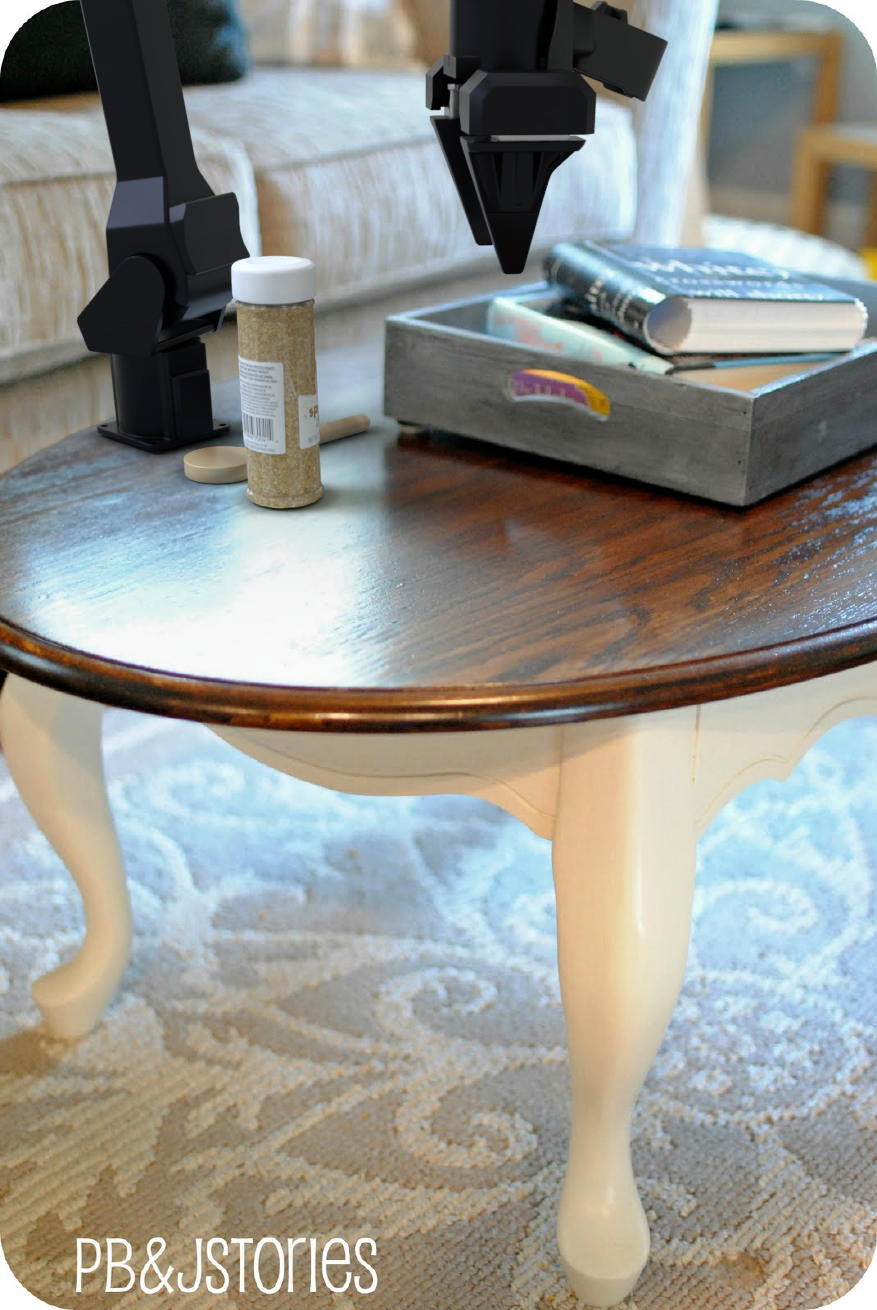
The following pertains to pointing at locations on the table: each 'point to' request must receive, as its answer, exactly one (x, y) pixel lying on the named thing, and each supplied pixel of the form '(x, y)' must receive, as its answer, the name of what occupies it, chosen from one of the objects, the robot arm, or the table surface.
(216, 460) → the wooden spoon
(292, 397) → the sprinkles bottle
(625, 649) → the table surface
